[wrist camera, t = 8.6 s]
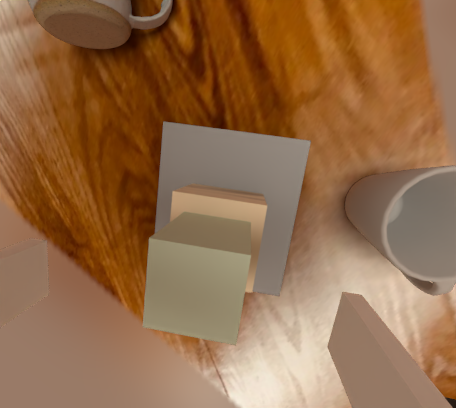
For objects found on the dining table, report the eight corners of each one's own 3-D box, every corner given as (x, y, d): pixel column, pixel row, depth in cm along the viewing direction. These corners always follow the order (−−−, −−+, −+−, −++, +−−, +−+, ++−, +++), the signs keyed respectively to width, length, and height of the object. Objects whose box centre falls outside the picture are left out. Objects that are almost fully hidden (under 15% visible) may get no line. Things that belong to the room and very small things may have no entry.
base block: (192, 183, 23) (172, 191, 17) (262, 193, 22) (267, 205, 16) (185, 248, 24) (164, 277, 18) (251, 260, 23) (252, 293, 18)
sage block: (184, 211, 17) (149, 238, 11) (250, 222, 17) (251, 255, 11) (178, 272, 18) (142, 327, 12) (240, 283, 18) (236, 345, 12)
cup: (407, 153, 21) (509, 148, 13) (425, 250, 23) (527, 301, 14) (325, 177, 22) (370, 186, 14) (348, 268, 24) (400, 325, 16)
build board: (167, 123, 23) (163, 121, 22) (307, 142, 22) (310, 140, 21) (156, 268, 26) (151, 273, 25) (277, 290, 25) (279, 296, 24)
